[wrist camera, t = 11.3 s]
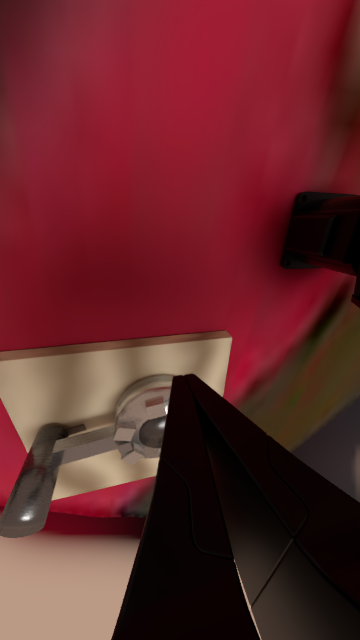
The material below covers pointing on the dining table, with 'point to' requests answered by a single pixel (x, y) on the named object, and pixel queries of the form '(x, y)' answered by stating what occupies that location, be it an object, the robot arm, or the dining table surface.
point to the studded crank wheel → (86, 452)
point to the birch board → (100, 393)
